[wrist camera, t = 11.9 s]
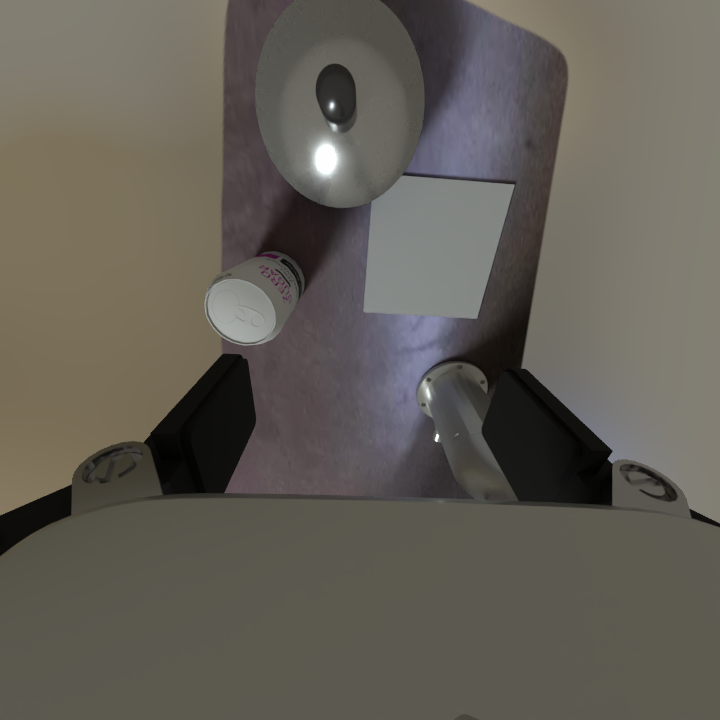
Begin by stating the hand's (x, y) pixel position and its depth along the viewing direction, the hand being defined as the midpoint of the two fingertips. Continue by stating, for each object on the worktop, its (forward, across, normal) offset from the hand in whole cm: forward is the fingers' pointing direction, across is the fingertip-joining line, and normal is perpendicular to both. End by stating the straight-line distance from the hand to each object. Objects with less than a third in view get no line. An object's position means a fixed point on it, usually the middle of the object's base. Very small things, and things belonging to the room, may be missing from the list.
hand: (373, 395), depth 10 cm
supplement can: (+34, +12, +4) cm, 36 cm away
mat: (+33, -10, -1) cm, 35 cm away
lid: (+27, +3, -14) cm, 31 cm away
